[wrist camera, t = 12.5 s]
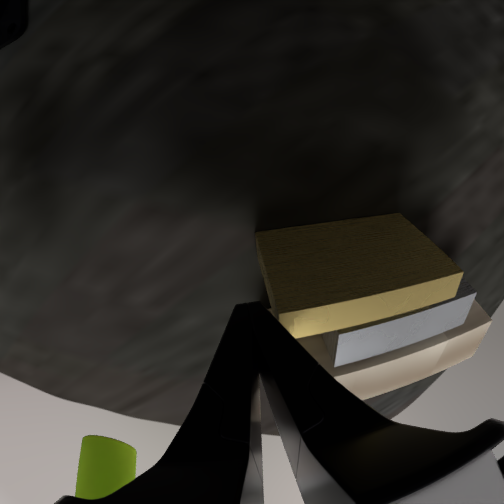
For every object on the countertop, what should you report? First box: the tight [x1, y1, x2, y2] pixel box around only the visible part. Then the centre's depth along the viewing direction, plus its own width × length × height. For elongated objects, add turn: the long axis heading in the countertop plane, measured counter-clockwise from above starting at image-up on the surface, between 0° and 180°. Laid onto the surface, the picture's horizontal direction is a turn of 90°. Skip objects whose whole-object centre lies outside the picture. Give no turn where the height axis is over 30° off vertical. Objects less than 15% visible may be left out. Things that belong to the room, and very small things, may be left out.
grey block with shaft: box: [321, 277, 477, 367], centre depth 15 cm, size 9×7×5 cm
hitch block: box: [268, 299, 492, 400], centre depth 14 cm, size 3×12×5 cm, turn 95°
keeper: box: [255, 213, 463, 339], centre depth 11 cm, size 1×7×5 cm, turn 95°
